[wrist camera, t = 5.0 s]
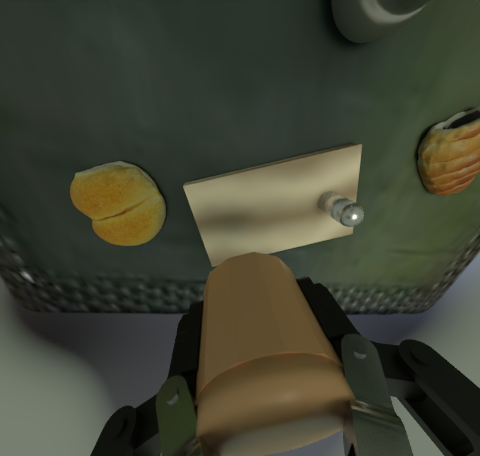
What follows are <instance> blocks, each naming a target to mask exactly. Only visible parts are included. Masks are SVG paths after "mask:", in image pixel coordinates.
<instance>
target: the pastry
mask: <svg viewBox="0 0 480 456" xmlns="http://www.w3.org/2000/svg"><path fill="white" fill-rule="evenodd" d="M418 154H419V159H418V161H417V164H418V169H419V172H420V175H421V178H422V181H423V184H424V186H425V188H426V189H427V190H428V191H430V192H431V193H433V194H436V195H443V196H446V195H450V194H453V193H457V192H461V191H462V190H463V189H465V188H466V187H467V186H468V185H469V184H470V183H471V182H472V181H473V179H474V178H475V175H476V174H477V173H479V172H480V106H479V107H476V108H474V109H472V110H469V111H466V112H460V113H457V114H455V115H454V116H452V117H451V118H449V119H448V120H446V121H445V122H440V123H438V124H436V125H435V126H433V127H432V128H431V129H430V130H429V131H428V133H427V135H426V136H425V137H424V139H423V140H422V142H421V144H420V146H419V149H418Z"/></svg>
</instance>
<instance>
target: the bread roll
mask: <svg viewBox="0 0 480 456" xmlns="http://www.w3.org/2000/svg"><path fill="white" fill-rule="evenodd" d="M70 195H71V199H72V201H73V204H74V205H75V207H76V208H77V209H79V210H80V211H81V212H82V213H84V214H85V215H87V216H89V217H90V218H92V221H93V222H92V225H93V229H94V231H95V233H96V234H97V235H98V236H99V237H101V238H102V239H104V240H105V241H107V242H109V243H112V244H116V245H123V246H134V245H140V244H143V243H146V242H148V241H149V240H151V239H152V238H153V237H154V236H156V234H157V233H158V232H159V231H160V229H161V227H162V225H163V223H164V220H165V217H166V205H165V201H164V198H163V197H162V195H161V193H160V192H159V190H158V188H157V186H156V184H155V182H154V181H153V180H152V178H151V177H150V176H149V175H148V174H147V173H146V172H144V171H143V170H142V169H140V168H139V167H137V166H135V165H133V164H130V163H125V162H122V161H118V162H112V163H107V164H104V165H101V166H96V167H93V168H92V169H87V170H85V171H82V172H78V173H75V178H74V180H73V181H72V184H71V187H70Z"/></svg>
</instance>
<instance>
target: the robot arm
mask: <svg viewBox="0 0 480 456" xmlns="http://www.w3.org/2000/svg"><path fill="white" fill-rule="evenodd" d="M296 280H297V282H298V284H299V286H300V288H301V290H302V292H303V294H304V295H305V297H306V299H307V301H308V303H309V305H310V307H311V308H312V310H313V312H314V314H315V316H316V318H317V320H318V322H319V323H320V325H321V327H322V329H323V331H324V333H325V335H326V336H327V338H328V340H329V341H330V343H331V345H332V346H333V348H334V350H335V352H336V354H337V356H338V357H339V359H340V361H341V363H342V366H343V373H344V376H345V379H346V381H347V383H348V385H349V387H350V389H351V390H352V392H353V394H354V396H355V398H356V399H350V400H349V401H348V405H347V417H346V420H344V422H343V444H344V454H345V456H413V453H412V450H411V446H410V443H409V440H408V436H407V434H406V430H405V427H404V425H403V423H402V421H401V419H400V418H399V417H398V416H397V415H396V413H395V411H394V408H393V405H392V401H391V397H390V396H394V397H397V398H398V400H399V401H400V402H401V403H402V404H403V406H404V407H405V408H406V409H407V410H408V412H409V413H410V414H411V415H412V417H413V418H414V419H415V420H416V422H417V423H418V424H419V425H420V426H421V428H422V429H423V430H424V431H425V432H426V434H427V435H428V436H429V437H430V439H431V440H432V441H433V442H434V443H435V445H436V446H437V447H438V448H439V450H440V451H441V452H442V453H443V455H444V456H480V388H479V387H477V386H476V385H475V384H474V383H473V382H472V381H470V380H469V379H468V378H467V377H466V376H464V375H463V374H462V373H461V372H460V371H459V370H457V369H456V368H455V367H454V366H453V365H451V364H450V363H449V362H448V361H447V360H445V359H444V358H443V357H442V356H441V355H440V354H438V353H437V352H436V351H435V350H434V349H432V348H431V347H430V346H428V345H426V344H424V343H422V342H420V341H416V340H411V339H409V340H404V341H402V342H401V343H400V345H399V346H398V345H388V344H381V343H376V342H373V341H370V340H368V339H367V338H365V337H363V336H362V335H361V334H360V333H359V332H357V330H356V329H355V327H354V326H353V325H352V323H351V322H350V320H349V319H348V317H347V316H346V315H345V313H344V312H343V310H342V309H341V307H340V306H339V305H338V304H337V302H336V300H335V299H334V298H333V296H332V295H331V293H330V292H329V290H328V289H327V288H326V287H324V286H323V285H321V284H320V283H317V284H313V282H312V281H311V279H310V278H309V277H308V276H307V277H302V278H298V279H296ZM202 310H203V301H200V302H196V303H192V304H190V308H189V314H185V315H183V317H182V318H181V320H180V322H179V324H178V328H177V335H176V339H175V344H174V349H173V354H172V360H171V365H170V370H169V374H168V378H167V380H166V381H165V382H164V384H163V385H162V386H161V388H160V389H159V392H158V393H157V394H156V395H155V396H153V397H152V398H151V399H149V400H147V401H146V402H144V403H143V404H141V405H140V406H138V407H137V408H133V407H132V406H124V407H122V408H120V409H118V410H117V411H116V412H115V413H114V414H113V415H112V416H111V417H110V418H109V420H108V421H107V423H106V424H105V426H104V428H103V430H102V432H101V434H100V436H99V439H98V441H97V443H96V445H95V447H94V449H93V451H92V453H91V455H90V456H160V453H162V456H221V455H220V454H219V453H218V452H217V451H216V452H214V451H213V450H212V449H211V448H210V447H209V446H208V444H207V442H206V440H205V439H204V438H203V437H202V436H201V435H200V436H197V437H196V426H197V405H196V404H195V394H196V381H197V372H198V362H199V349H200V336H201V323H202Z"/></svg>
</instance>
